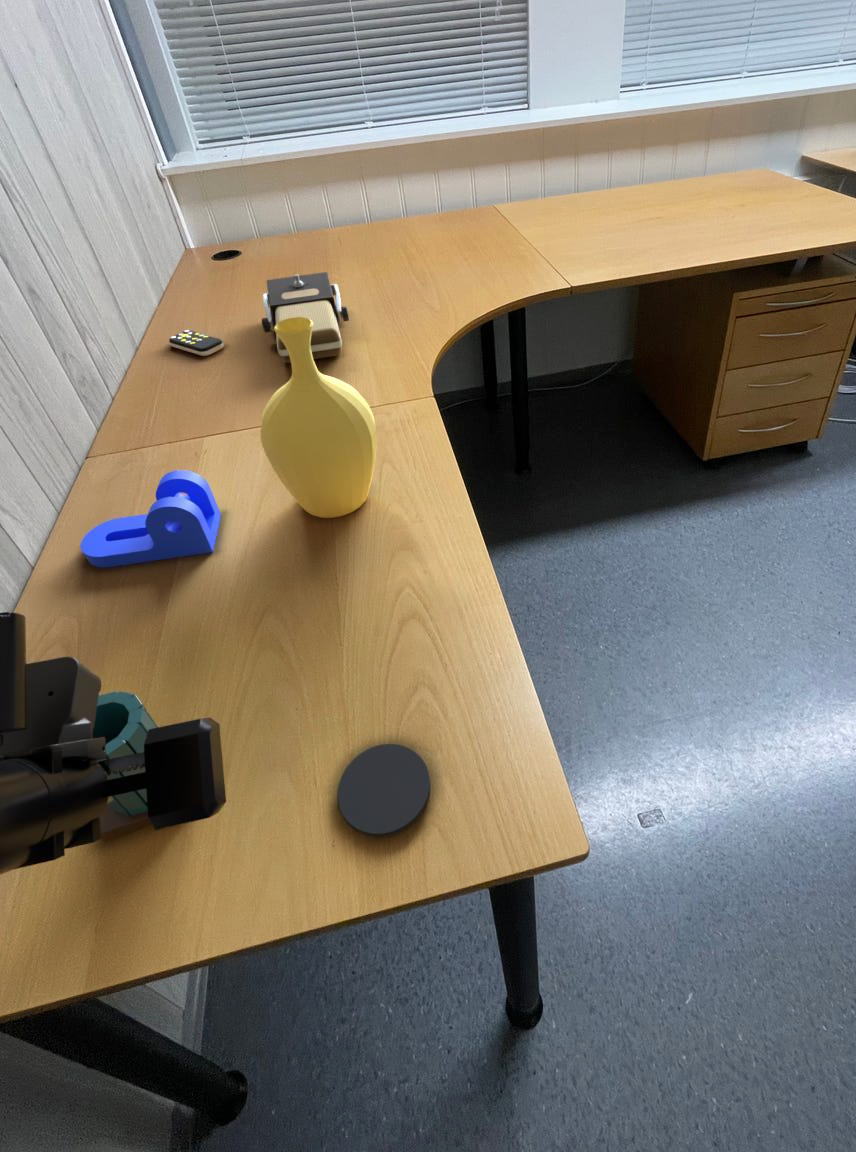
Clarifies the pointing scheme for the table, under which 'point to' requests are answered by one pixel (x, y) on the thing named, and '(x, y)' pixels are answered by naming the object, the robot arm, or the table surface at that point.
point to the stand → (121, 823)
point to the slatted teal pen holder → (123, 742)
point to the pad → (384, 790)
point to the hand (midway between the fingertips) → (127, 779)
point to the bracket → (159, 526)
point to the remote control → (196, 343)
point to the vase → (318, 432)
